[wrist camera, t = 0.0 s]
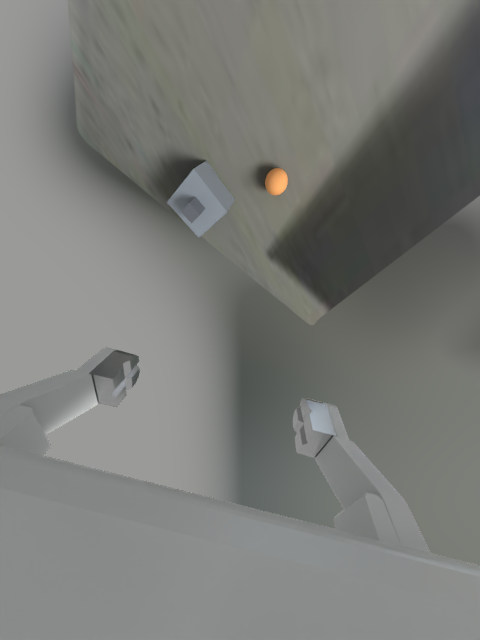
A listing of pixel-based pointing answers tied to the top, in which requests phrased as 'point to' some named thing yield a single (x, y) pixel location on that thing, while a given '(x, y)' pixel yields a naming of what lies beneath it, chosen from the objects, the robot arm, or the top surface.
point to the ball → (276, 181)
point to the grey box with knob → (201, 199)
